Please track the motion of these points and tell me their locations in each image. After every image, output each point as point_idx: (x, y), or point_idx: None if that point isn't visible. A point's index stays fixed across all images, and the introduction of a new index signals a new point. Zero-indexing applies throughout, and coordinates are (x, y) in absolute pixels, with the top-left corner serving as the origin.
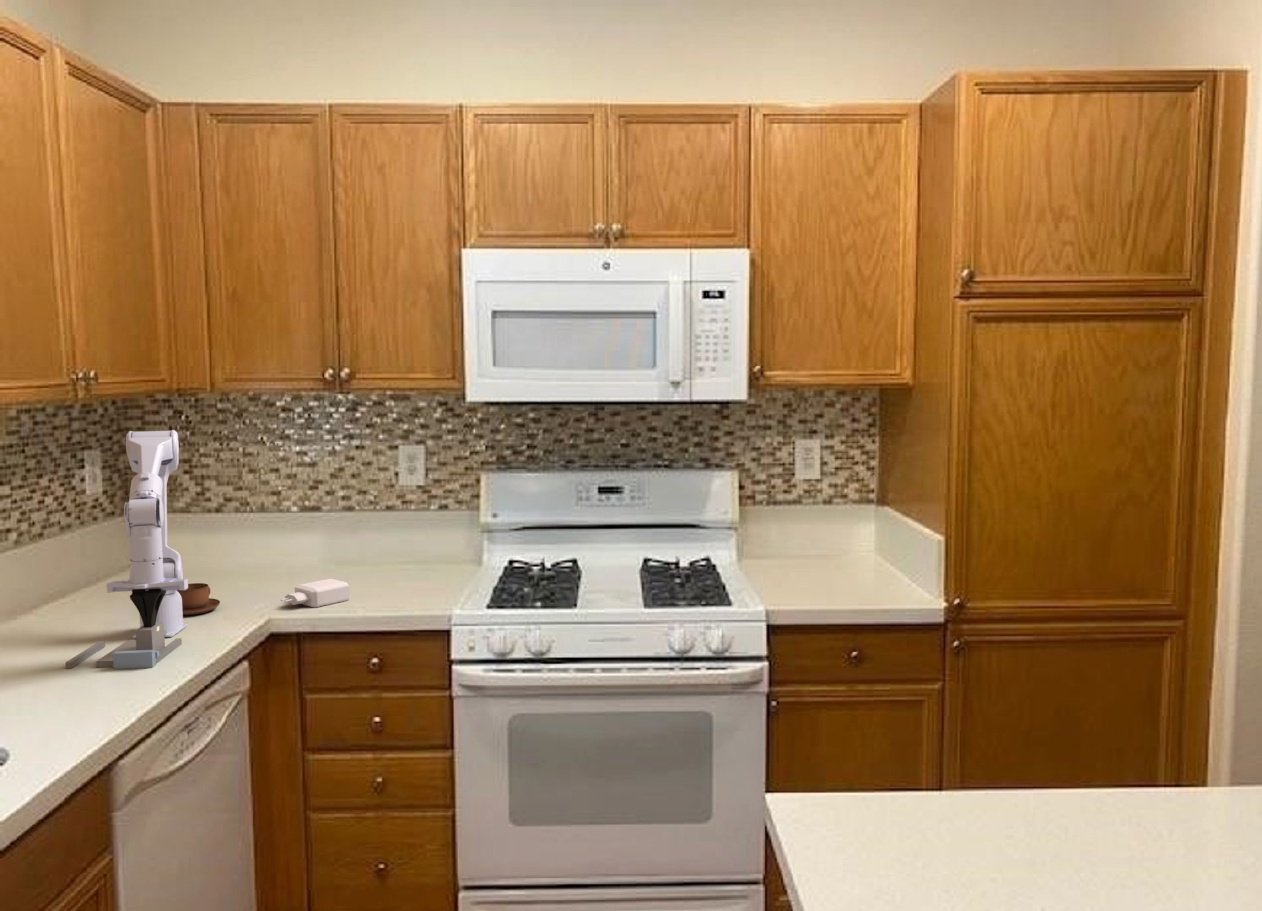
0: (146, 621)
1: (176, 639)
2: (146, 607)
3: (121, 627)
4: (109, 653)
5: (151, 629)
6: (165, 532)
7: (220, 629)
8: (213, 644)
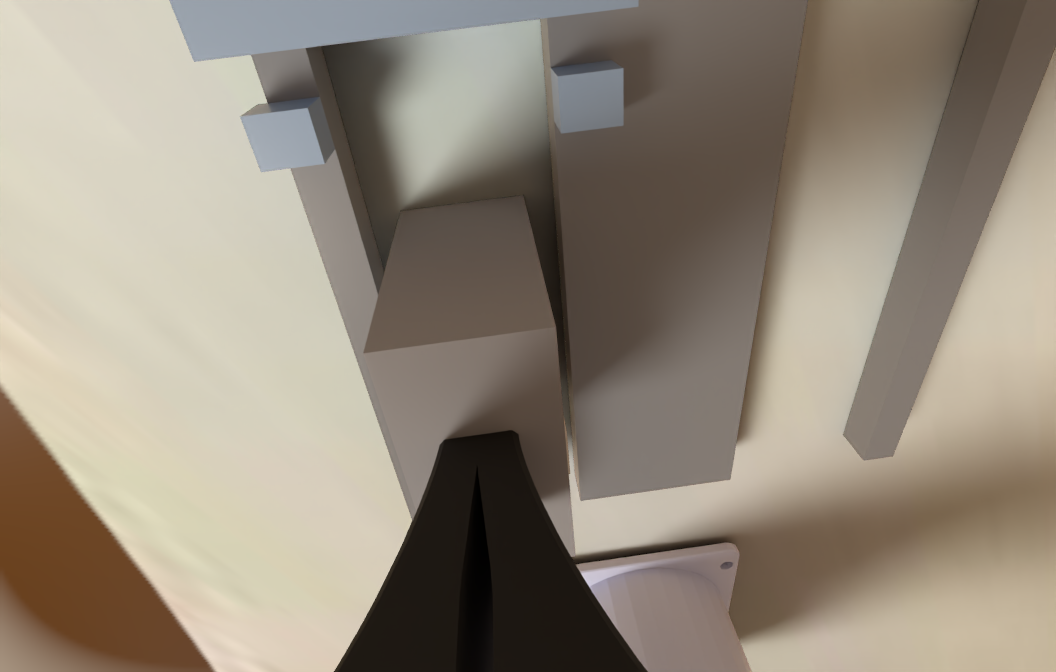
0: (480, 477)
1: None
2: (447, 667)
3: (836, 640)
4: (758, 222)
5: (380, 372)
6: None
7: None
8: (208, 500)
